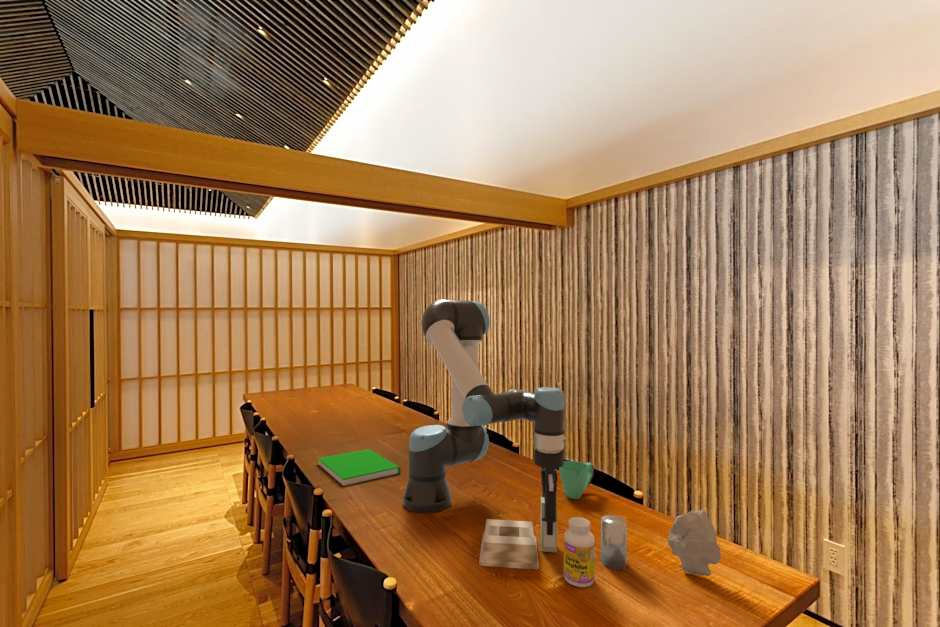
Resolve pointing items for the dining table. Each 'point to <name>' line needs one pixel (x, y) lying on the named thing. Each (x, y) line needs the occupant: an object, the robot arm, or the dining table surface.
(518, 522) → the socket block
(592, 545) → the supplement bottle
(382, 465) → the book
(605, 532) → the clear glass cylinder
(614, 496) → the dining table surface
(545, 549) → the square peg
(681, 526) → the stone tool
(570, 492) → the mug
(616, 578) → the dining table surface
